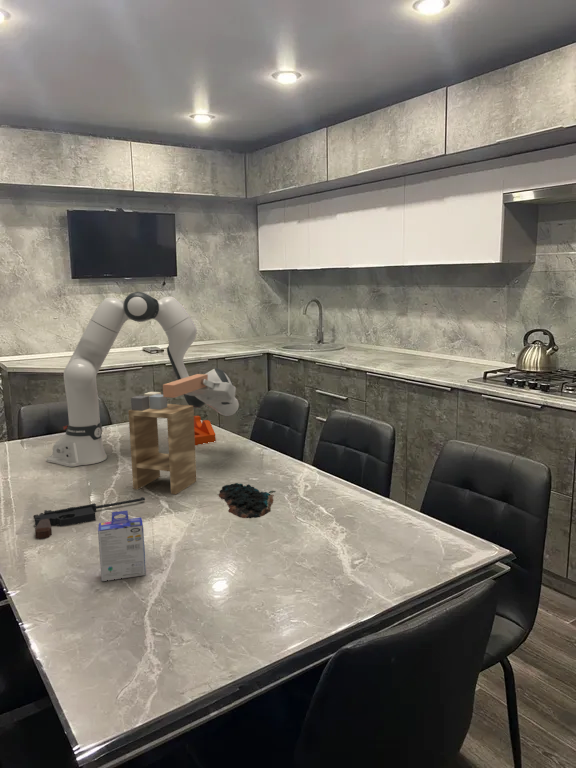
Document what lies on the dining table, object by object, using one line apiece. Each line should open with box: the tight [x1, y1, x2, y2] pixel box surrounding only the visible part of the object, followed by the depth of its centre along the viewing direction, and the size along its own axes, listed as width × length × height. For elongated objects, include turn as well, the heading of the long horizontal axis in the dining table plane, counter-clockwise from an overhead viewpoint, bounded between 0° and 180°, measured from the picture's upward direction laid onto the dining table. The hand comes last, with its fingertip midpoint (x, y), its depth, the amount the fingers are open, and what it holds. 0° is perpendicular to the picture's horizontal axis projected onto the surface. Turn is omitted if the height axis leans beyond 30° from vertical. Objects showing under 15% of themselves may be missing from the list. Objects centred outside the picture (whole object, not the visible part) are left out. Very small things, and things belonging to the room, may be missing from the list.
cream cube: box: [143, 391, 162, 406], centre depth 196 cm, size 4×4×4 cm
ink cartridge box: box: [97, 510, 146, 582], centre depth 135 cm, size 10×6×14 cm, turn 107°
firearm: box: [33, 496, 146, 540], centre depth 168 cm, size 32×3×15 cm
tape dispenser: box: [194, 415, 217, 446], centre depth 251 cm, size 18×13×8 cm
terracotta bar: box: [162, 373, 208, 399], centre depth 197 cm, size 4×22×4 cm, turn 159°
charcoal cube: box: [130, 395, 149, 411], centre depth 189 cm, size 4×4×4 cm
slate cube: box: [149, 394, 168, 410], centre depth 191 cm, size 4×4×4 cm
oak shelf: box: [127, 403, 197, 495], centre depth 193 cm, size 16×13×26 cm
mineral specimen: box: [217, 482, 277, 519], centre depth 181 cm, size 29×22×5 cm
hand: (195, 380), depth 203 cm, fingers closed on terracotta bar, 4 cm apart
